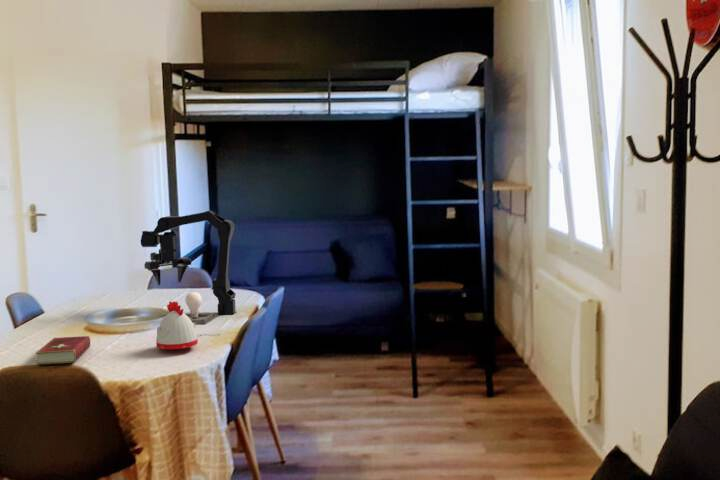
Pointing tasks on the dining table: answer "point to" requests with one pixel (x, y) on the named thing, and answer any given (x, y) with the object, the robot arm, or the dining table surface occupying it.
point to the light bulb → (194, 303)
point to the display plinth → (202, 318)
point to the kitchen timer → (176, 329)
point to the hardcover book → (63, 350)
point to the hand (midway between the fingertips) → (169, 283)
